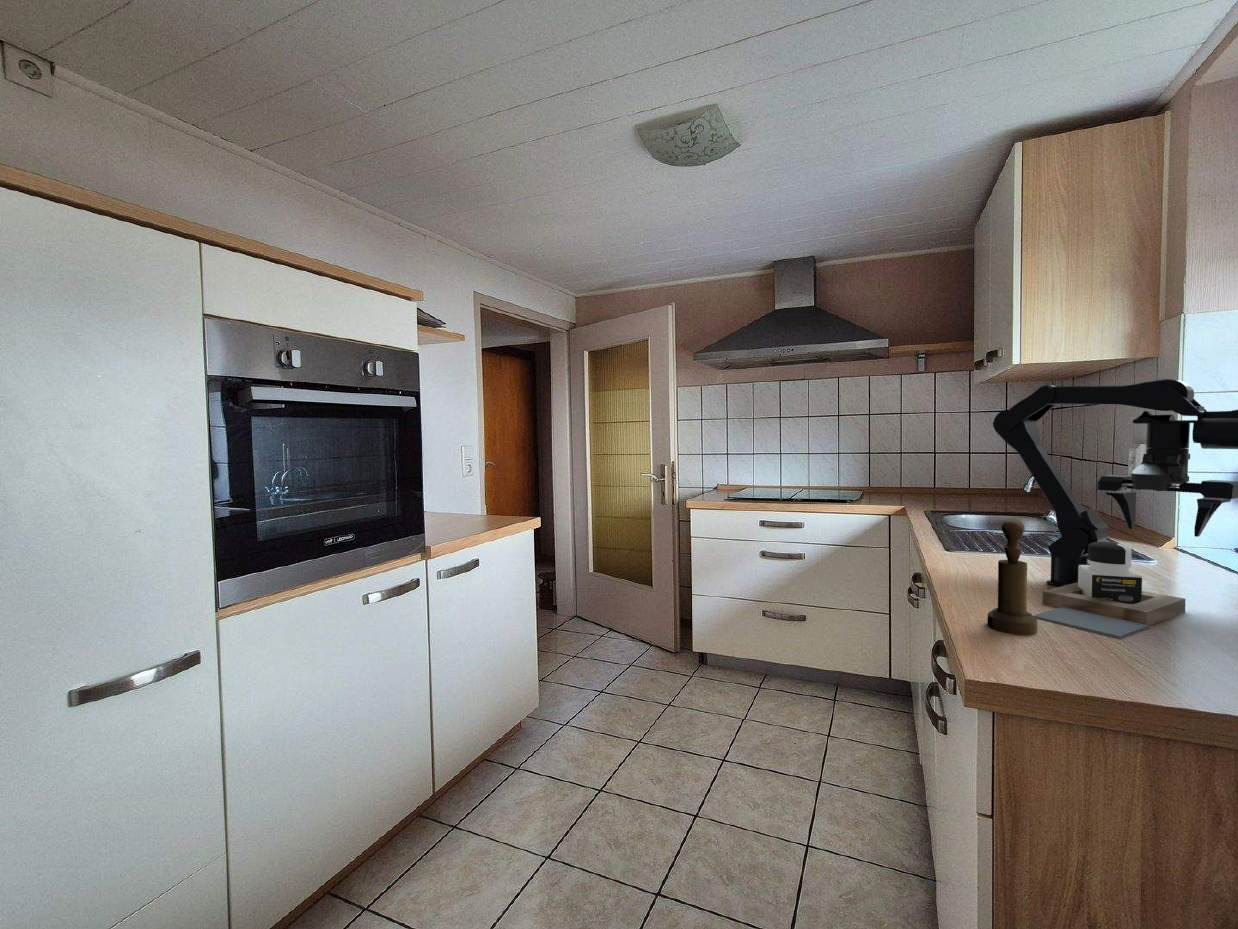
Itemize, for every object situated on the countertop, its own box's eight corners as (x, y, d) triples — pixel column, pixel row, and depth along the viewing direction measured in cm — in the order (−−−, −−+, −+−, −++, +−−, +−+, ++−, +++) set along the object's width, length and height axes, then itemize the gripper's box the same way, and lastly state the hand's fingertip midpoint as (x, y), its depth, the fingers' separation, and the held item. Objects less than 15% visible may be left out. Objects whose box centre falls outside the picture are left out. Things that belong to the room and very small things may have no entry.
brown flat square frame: (1042, 604, 106) (1042, 591, 106) (1083, 593, 113) (1083, 580, 113) (1146, 627, 93) (1146, 612, 93) (1185, 612, 100) (1185, 598, 100)
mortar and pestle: (1029, 625, 95) (1030, 517, 94) (1043, 638, 89) (1045, 523, 88) (982, 622, 97) (983, 516, 96) (993, 634, 91) (995, 521, 90)
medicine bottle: (1091, 612, 103) (1092, 545, 102) (1077, 601, 110) (1078, 538, 109) (1142, 616, 100) (1143, 547, 100) (1124, 605, 107) (1125, 540, 106)
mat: (1032, 619, 98) (1033, 615, 98) (1063, 609, 103) (1063, 606, 103) (1120, 640, 88) (1120, 636, 88) (1149, 628, 92) (1149, 625, 92)
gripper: (1085, 448, 110) (1082, 529, 111) (1223, 450, 94) (1218, 545, 95) (1111, 447, 115) (1108, 524, 116) (1245, 449, 99) (1240, 539, 100)
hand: (1163, 532), depth 107 cm, fingers open, 9 cm apart
